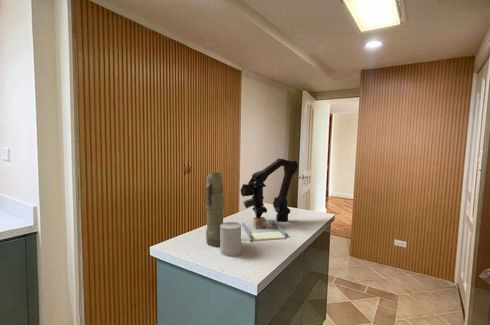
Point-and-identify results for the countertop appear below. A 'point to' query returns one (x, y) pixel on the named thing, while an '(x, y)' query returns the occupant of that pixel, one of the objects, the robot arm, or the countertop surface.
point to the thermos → (214, 207)
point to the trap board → (265, 232)
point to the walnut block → (259, 223)
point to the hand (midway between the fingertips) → (257, 220)
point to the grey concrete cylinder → (230, 239)
